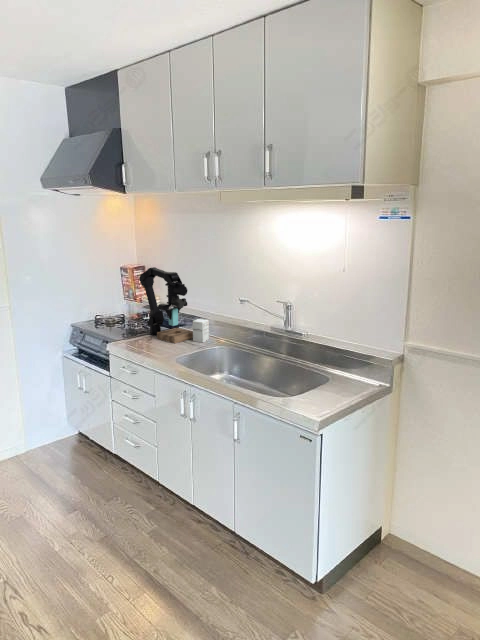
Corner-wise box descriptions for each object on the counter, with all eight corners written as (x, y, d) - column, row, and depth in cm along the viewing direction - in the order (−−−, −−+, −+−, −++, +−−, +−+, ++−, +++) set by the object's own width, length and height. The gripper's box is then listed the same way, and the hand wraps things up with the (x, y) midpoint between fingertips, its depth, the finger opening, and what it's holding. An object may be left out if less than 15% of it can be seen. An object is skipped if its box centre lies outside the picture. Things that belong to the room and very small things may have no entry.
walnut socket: (157, 338, 294) (157, 332, 294) (176, 333, 306) (176, 327, 305) (174, 343, 284) (174, 337, 283) (194, 338, 296) (194, 331, 295)
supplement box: (192, 341, 289) (192, 320, 286) (199, 338, 296) (198, 318, 293) (202, 342, 286) (202, 322, 283) (209, 339, 292) (209, 319, 289)
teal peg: (168, 324, 291) (168, 308, 288) (173, 323, 293) (173, 307, 291) (173, 325, 288) (172, 309, 286) (178, 324, 291) (177, 308, 289)
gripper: (169, 297, 274) (169, 323, 278) (193, 293, 288) (193, 318, 291) (156, 295, 282) (157, 320, 285) (181, 291, 295) (181, 315, 299)
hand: (173, 319), depth 290 cm, fingers closed on teal peg, 4 cm apart
